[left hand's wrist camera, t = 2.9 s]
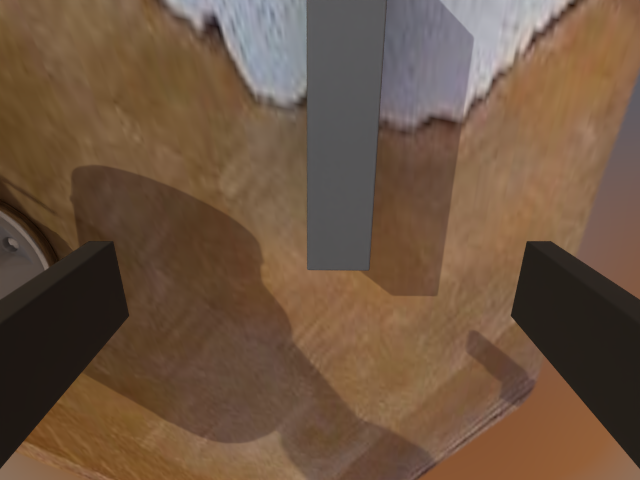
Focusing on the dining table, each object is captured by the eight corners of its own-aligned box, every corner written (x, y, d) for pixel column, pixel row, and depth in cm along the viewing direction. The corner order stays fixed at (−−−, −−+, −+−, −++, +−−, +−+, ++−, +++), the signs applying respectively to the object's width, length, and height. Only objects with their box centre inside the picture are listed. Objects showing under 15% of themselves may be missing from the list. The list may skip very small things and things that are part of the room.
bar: (358, 232, 36) (369, 270, 28) (309, 232, 36) (307, 270, 28) (374, -72, 27) (395, -133, 20) (309, -73, 27) (306, -135, 20)
